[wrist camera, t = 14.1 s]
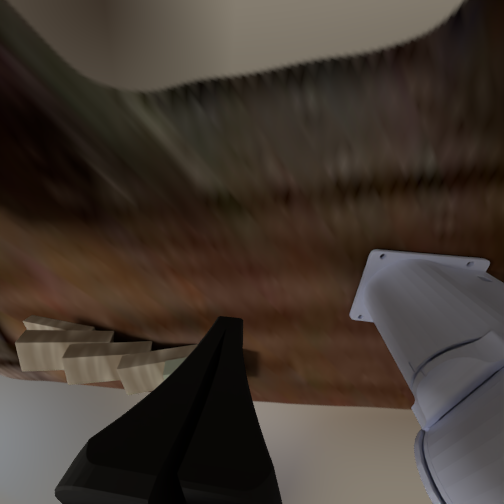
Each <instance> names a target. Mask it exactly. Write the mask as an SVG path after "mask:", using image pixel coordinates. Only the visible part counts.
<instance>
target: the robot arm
mask: <svg viewBox="0 0 504 504" xmlns="http://www.w3.org/2000/svg"><path fill="white" fill-rule="evenodd" d="M382 254H384V256H383V257H380V256H381V255H382ZM469 262H470V263H469ZM467 263H469V264H467ZM489 265H490V262H489V261H488V260H486V259H484V258H474V257H462V256H451V255H439V254H427V253H415V252H404V251H392V250H380V249H375V250H372V251H371V252H370V254H369V257H368V260H367V263H366V266H365V269H364V272H363V275H362V278H361V281H360V284H359V287H358V290H357V293H356V296H355V299H354V302H353V305H352V308H351V311H350V317H351V319H353V320H360V321H369V322H374V323H375V325H376V327H377V329H378V330H379V332H380V334H381V336H382V338H383V340H384V341H385V343H386V345H387V347H388V349H389V351H390V352H391V354H392V356H393V358H394V360H395V362H396V363H397V365H398V367H399V369H400V371H401V373H402V374H403V376H404V378H405V380H406V382H407V384H408V386H409V387H410V389H411V391H412V393H413V394H414V397H415V403H414V405H413V406H412V410H413V412H414V414H415V416H416V418H417V420H418V422H419V424H420V426H421V428H422V429H421V430H420V431H419V432H418V434H417V436H416V438H415V444H414V453H415V460H416V464H417V468H418V471H419V474H420V477H421V480H422V482H423V484H424V487H425V489H426V491H427V494H428V496H429V498H430V499H431V501H432V503H433V504H504V283H503V282H501V281H500V280H498V279H496V278H495V277H493V276H491V275H490V274H488V273H486V270H487V269H488V267H489ZM359 315H361V316H359ZM242 346H243V320H242V319H241V318H232V317H223V316H219V317H218V318H217V320H216V321H215V323H214V324H213V326H212V327H211V328H210V330H209V331H208V332H207V334H206V335H205V336H204V338H203V339H202V340H201V341H200V343H199V344H198V345H197V346H196V348H195V349H194V350H193V351H192V352H191V353H190V354H189V356H188V357H187V358H186V359H185V360H184V361H183V362H182V363H181V364H180V365H179V366H178V368H177V369H176V370H175V371H174V372H173V373H172V374H170V375H169V376H168V377H167V378H166V379H165V380H164V381H163V382H162V383H161V384H160V385H159V386H158V387H156V388H155V389H154V390H153V391H152V392H151V393H150V394H148V395H147V396H146V397H145V398H144V399H143V400H141V401H140V402H139V403H137V404H136V405H135V406H134V407H133V408H131V409H130V410H129V411H127V412H126V413H125V414H123V415H122V416H121V417H120V418H118V419H117V420H115V421H114V422H113V423H111V424H110V425H108V426H107V427H106V428H104V429H103V430H101V431H100V432H99V433H97V434H96V435H94V436H93V437H91V438H90V439H89V440H88V442H87V443H86V444H85V446H84V447H83V448H82V450H81V451H80V452H79V454H78V455H77V457H76V458H75V459H74V461H73V462H72V464H71V466H70V467H69V468H68V470H67V472H66V473H65V475H64V476H63V478H62V479H61V481H60V482H59V484H58V485H57V487H56V489H55V496H56V498H57V499H58V500H59V501H60V502H61V503H62V504H282V500H281V496H280V491H279V487H278V483H277V479H276V475H275V470H274V466H273V463H272V460H271V458H270V455H269V452H268V449H267V446H266V444H265V441H264V438H263V435H262V432H261V429H260V425H259V422H258V419H257V415H256V412H255V408H254V405H253V401H252V397H251V393H250V389H249V385H248V380H247V376H246V370H245V364H244V358H243V349H242Z"/></svg>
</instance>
